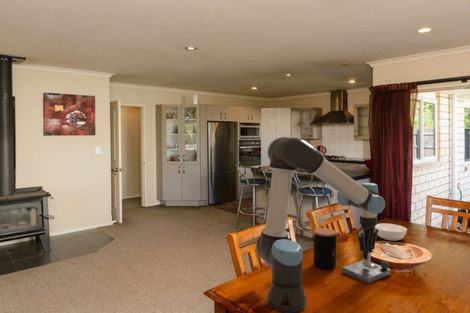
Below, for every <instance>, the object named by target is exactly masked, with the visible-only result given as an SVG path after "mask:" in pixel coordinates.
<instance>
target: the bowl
mask: <svg viewBox="0 0 470 313" xmlns="http://www.w3.org/2000/svg"><path fill="white" fill-rule="evenodd" d="M375 229H378V233H377V236H378V237H380V238H381V239H383V240H387V241H392V242H393V241H394V242H395V241H400V240H402V239H403V238H405V236H406V234H407V231H408V228H406V227H405V226H402V225H400V224H394V223H386V222H385V223H377V225H376V226H375Z"/></svg>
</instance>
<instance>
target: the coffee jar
mask: <svg viewBox="0 0 470 313" xmlns="http://www.w3.org/2000/svg"><path fill="white" fill-rule="evenodd" d="M313 232H314V235H313V265H314V267H315V268H316V269H318V270H321V271H326V272H327V271H333V270H334V269H335V268H336V266H337V231H336V230H334V229H333V228H332V229H331V228H327V227H326V228H325V227H319V228H315V229H314V230H313Z"/></svg>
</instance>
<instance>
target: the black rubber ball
mask: <svg viewBox="0 0 470 313" xmlns="http://www.w3.org/2000/svg"><path fill="white" fill-rule="evenodd" d="M379 265H380V266H381V267H382V268H383V269H390V264H389V262H388V261H386V260H382V261H381V262H380V264H379Z"/></svg>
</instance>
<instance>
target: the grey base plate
mask: <svg viewBox="0 0 470 313" xmlns="http://www.w3.org/2000/svg"><path fill="white" fill-rule="evenodd" d="M363 263H364V261H363V259H362V260H360V261H357V262H354V263H351V264H348V265H345V266H341V273H343V274H345V275H347V276H349V277H352V278H354V279H356V280H358V281H360V282H363V283H364V284H366V285H367V284H371V283H373V282H376V281H378V280H379V281H380V279H383V278H386V277H388V276H391V273H392V272H391V269H390V268H388V269H383V268H382V267H381V266H380V264H377V263H374V262H371V264H373V265H375V266H376V268H375V269H371V268H368V266H366V265H363Z"/></svg>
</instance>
